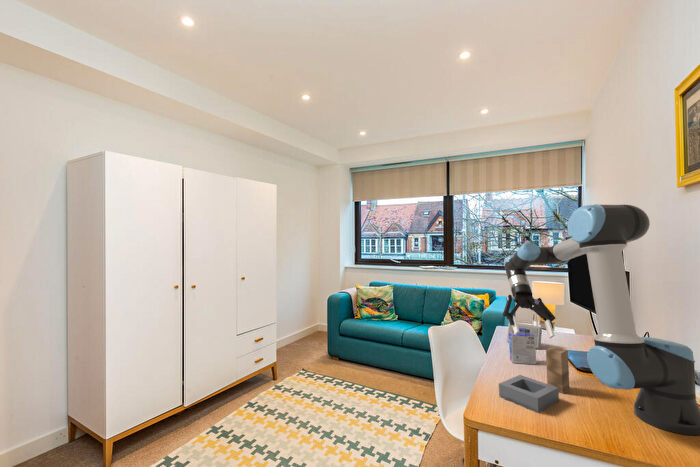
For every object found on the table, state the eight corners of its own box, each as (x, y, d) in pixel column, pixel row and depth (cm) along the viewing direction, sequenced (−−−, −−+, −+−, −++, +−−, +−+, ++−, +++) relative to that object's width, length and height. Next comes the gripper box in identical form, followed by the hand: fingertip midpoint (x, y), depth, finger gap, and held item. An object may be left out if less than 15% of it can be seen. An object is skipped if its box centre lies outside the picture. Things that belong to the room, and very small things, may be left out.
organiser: (558, 401, 107) (558, 387, 107) (538, 413, 100) (537, 398, 100) (520, 387, 118) (519, 374, 118) (499, 396, 111) (498, 383, 111)
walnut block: (569, 390, 115) (567, 350, 116) (562, 393, 113) (560, 353, 113) (554, 385, 120) (552, 346, 120) (547, 388, 117) (546, 349, 117)
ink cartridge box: (532, 360, 145) (531, 327, 145) (537, 364, 140) (535, 330, 140) (508, 359, 147) (507, 326, 147) (512, 363, 141) (511, 330, 142)
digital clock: (504, 343, 170) (504, 322, 171) (515, 340, 175) (514, 320, 176) (535, 351, 157) (534, 329, 157) (545, 348, 161) (545, 326, 162)
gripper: (544, 295, 142) (561, 342, 128) (488, 289, 142) (498, 335, 129) (553, 286, 137) (572, 334, 123) (495, 280, 137) (506, 327, 123)
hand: (534, 335), depth 126 cm, fingers open, 13 cm apart
